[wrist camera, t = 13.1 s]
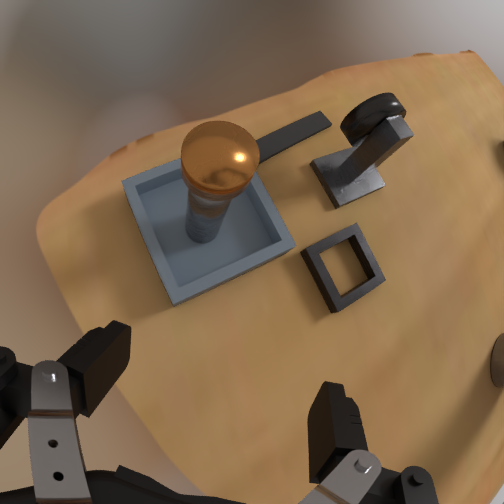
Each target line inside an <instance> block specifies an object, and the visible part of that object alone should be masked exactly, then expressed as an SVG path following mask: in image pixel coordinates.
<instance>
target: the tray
mask: <svg viewBox="0 0 504 504" xmlns="http://www.w3.org/2000/svg"><path fill="white" fill-rule="evenodd" d="M122 184H123V187H124V191H125V194H126V196H127V199H128V202H129V204H130V207H131V209H132V212H133V215H134V217H135V220H136V222H137V225H138V227H139V230H140V232H141V234H142V237H143V239H144V242H145V244H146V246H147V249H148V251H149V253H150V256H151V258H152V260H153V263H154V265H155V267H156V269H157V272H158V274H159V276H160V278H161V281H162V283H163V285H164V287H165V289H166V291H167V294H168V296H169V298H170V300H171V302H172V304H173V306H174V307H175V306H177V305H179V304H182V303H184V302H186V301H188V300H190V299H192V298H194V297H196V296H198V295H201V294H203V293H205V292H207V291H209V290H211V289H213V288H215V287H217V286H220V285H222V284H224V283H226V282H228V281H230V280H232V279H234V278H236V277H238V276H240V275H243V274H245V273H247V272H249V271H251V270H253V269H255V268H257V267H259V266H261V265H263V264H265V263H267V262H270V261H272V260H274V259H276V258H278V257H280V256H282V255H284V254H286V253H287V252H289V251H290V250H291V249H293V248H294V247H295V246H296V244H295V242H294V240H293V238H292V236H291V234H290V233H289V231H288V229H287V227H286V225H285V223H284V221H283V220H282V218H281V216H280V214H279V212H278V210H277V208H276V207H275V205H274V203H273V201H272V199H271V197H270V196H269V194H268V192H267V190H266V188H265V187H264V185H263V183H262V181H261V179H260V178H259V176H258V174H257V172H256V171H255V173H254V175H253V177H252V179H251V181H250V183H249V185H248V186H247V188H246V189H245V190H244V192H242V193H241V194H240V195H238V196H237V197H235V198H233V199H232V201H231V203H230V205H229V208H228V210H227V213H226V215H225V218H224V220H223V223H222V225H221V228H220V230H219V233H218V235H217V236H216V238H215V239H214V240H212V241H211V242H208V243H203V244H202V243H197V242H194V241H193V240H191V239H190V238H189V237H188V235H187V233H186V230H185V223H186V210H187V198H188V187H187V186H186V185H185V183H184V181H183V179H182V176H181V158H179V159H177V160H174V161H171V162H168V163H166V164H163V165H160V166H158V167H155V168H152V169H150V170H147V171H145V172H142V173H140V174H137V175H135V176H132V177H130V178H127V179H125V180H123V181H122Z"/></svg>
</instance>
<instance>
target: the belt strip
mask: <svg viewBox="0 0 504 504" xmlns="http://www.w3.org/2000/svg"><path fill="white" fill-rule="evenodd" d="M331 125H332V123H331V122H330V121H329V120H328V119H327V118H326V117H325V115H324V114H323V113H322V112H321V111H318V112H316V113H314V114H311V115H309V116H307V117H305V118H302V119H300V120H298V121H296V122H294V123H291V124H289V125H287V126H285V127H283V128H281V129H279V130H276V131H274V132H272V133H270V134H268V135H266V136H264V137H262V138H260V139H258V140H256V143H257V145H258V148H259V153H260V159H259V164H260V163H262V162H263V161H265V160H267V159H269V158H271V157H273V156H274V155H276V154H278V153H280V152H282V151H284V150H286V149H288V148H289V147H291V146H293V145H295V144H297V143H299V142H301V141H303V140H305V139H307V138H309V137H311V136H313V135H315V134H317V133H318V132H320V131H322V130H324V129H326V128H328V127H330V126H331Z"/></svg>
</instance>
